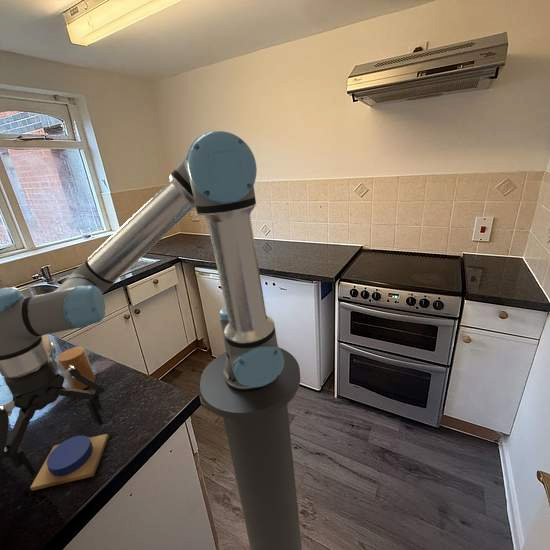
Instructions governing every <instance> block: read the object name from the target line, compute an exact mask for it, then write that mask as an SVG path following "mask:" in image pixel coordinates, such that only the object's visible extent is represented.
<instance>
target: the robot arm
mask: <svg viewBox="0 0 550 550" xmlns="http://www.w3.org/2000/svg"><path fill="white" fill-rule="evenodd" d="M257 170H258V169H257V161H256V158H255V155H254V153H253V152H252V149H251V148H250V146H249V145H248V143H246V142H245V141H244V140H243V139H242V138H241V137H240V136H238V135H237V134H234V133H231V132H228V131H223V130H217V131H216V130H212V131H211V132H205V133H203V134H200V136H198V137H197V138H196V139H195V140H194V141H193V142H192V144H191V145H190V146H189V149H188V151H187V153H186V155H185V157H184V158H183V160H182V161H181V162H180V163H179V165H177V167H176V168H175V169H173V171H172V172H170V174H169V182H167V183H166V184H165V185H164V186H163V187H162V188H161V189H160V190H158V192H157V193H156V194H155V195H153V197H152V198H150V199H149V200H148V201H147V202H146V203H145V204H143V206H142V207H141V208H140V209H139V210H137V212H136V213H134V214H133V215H132V217H130V218H129V219H128V220H127V221H126V222H125V223H124V224H123V225H122V226H120V227H119V228H118V230H117V231H115V232H114V233H113V234H112V235H111V236H110V237H109V238H108V239H106V241H105V242H104V243H102V244H101V245H100V246H99V248H97V249H96V250H95V251H94V252H93V253H92V254H91V255H90V256H89V257H88V258H87V259H86V260H85V261H83V262H82V263H81V264H80V265H79V266H78V267H77V268H75V269H73V271H72V272H71V273H70V274H69V276H68V277H67V278H66V279H65V280H64V281H63V282H62V283H61V284H60V285H59V286H58V287H57V288H56V289H55V290H54V291H52V292H47V293H42V294H38V295H31V296H30V295H29V296H24V294H23V293H22V291H21V290H20V289H19V288H17V287H2V288H0V375H1V377H4V378H3V380H4V382H5V384H6V386H7V387H8V390H9V391H10V393H11V395H12V400H11V401H9V402H7V403H5V404H3V405H2V404H0V462H2V461H3V459H5V458H9V460H10V461H11V463H12V465H13V466H14V467H15V468H17V469H18V468H20V467H21V466H22V465H23V467H24V468H25V470H26V471H27V473H28V474H29V476H31V477H34V476H36V475H37V472H36V470H35V469H34V467H33V466H32V464H31V462H30V461H29V459H28V457H27V455H26V454H25V452H24V450H23V449H22V448H21V447H20V445H21V443H22V440H23V438H24V436H25V434H26V431H27V430H28V427H29V425H30V422H31V420H32V419H33V418H34V415H35V413H36V411H38V410H39V411H41V410H43V409H45V408H46V407H47V406H48V405H49V404H53V403H55V402H56V401H58V398H59V397H64V398H65V397H70V398H74V399H75V398H76V399H82V400H85V403H86V406H87V408H88V410H89V412H90V415H91V417H92V419H93V421H94V422H95V423H96V424H97V425H98V426H100V427H101V426H102V425H103V424H104V421H103V419H102V416H101V415H100V412H99V411H101V410H102V404H101V402H100V395H101V394H102V393H104V392H105V391H106V389H105V387H103V386H102V385H101V384H98V383H97V382H95V381H94V382H93V381H92V380H90V379H88V378H86V377H85V376H83V375H81V374H80V372H79V371H78V369H77V368H75V367H73V366H72V365H69V366H68V367H67V370H66V371H64V372H63V373H62V372H61V373H59V371H58V368H57V369H56V367H55V365H54V363H53V361H52V359H51V358H50V357H49V356H50V354H49V352H48V350H47V348H46V346H45V344H44V342H43V340H42V337H41V336H43V335H46V334H47V335H50V334H55V333H61V332H65V331H69V330H75V329H82V328H85V327H88V326H91V325H94V324H97V323H100V322H101V321H103V320H104V318H105V316H106V302H105V298H104V294H105V292H107V290H109V289H110V288H111V287H112V286H113V285H114V284H115V283H116V282H117V281H118V280H119V279H120V278H121V277H122V276H123V275H124V274H125V273H126V272H128V271H129V269H131V268H132V267H133V266H134V265H135V264H136V263H137V262H138V261H139V260H140V259H141V258H142V257H143V256H145V254H147V253H148V252H149V251H150V250H151V249H152V248H154V246H155V245H156V244H157V243H159V242H160V240H162V239H163V238H164V237H165V236H166V235H167V234H168V233H169V232H171V231H172V230H173V228H175V227H176V226H177V225H178V224H179V223H181V221H182V220H183V219H184V218H185V217H187V216H188V215H189V214H190V213H191V212H192V211H193V210H194V209H196V210H195V211H196V213H197V215H198V216H199V217H201V218H202V219H204V220H205V221H206V223H207V227H208V233H209V237H210V240H211V245H212V250H213V255H214V259H215V264H216V268H217V272H218V278H219V283H220V287H221V288H220V289H221V291H222V297H223V301H224V302H223V303H224V306H223V307H222V308H220V310H219V319H218V320H219V322H220V328H221V331H222V338H223V343H224V347H225V348H224V349H225V352H226V354H227V357H226V363H225V368H224V372H223V373H224V378H225V382H226V384H227V385H228V386H229V387H230V388H232V389H234V390H236V391H241V392H249V391H255V390H258V389H260V388H263V387H264V386H266V385H267V384H269V383H271V382H272V381H274V380H275V379H276V378H277V376H278V375H280V373H281V372H282V370H283V367H284V357H283V353H282V351H281V350H280V349H279V348H280V347H279V345H278V339H277V333H276V326H275V321H274V320H273V318H272V317H270V316H268V315H267V313H266V306H265V298H264V293H263V286H262V279H261V274H260V267H259V261H258V255H257V249H256V248H257V247H256V243H255V242H256V241H255V236H254V229H253V224H252V217H251V213H252V211H253V210H254V208H255V207H256V206H257V200H256V199H257V198H256V193H255V192H256V191H255V183H256V178H257V172H258V171H257ZM65 378H69V379H73V378H75V379H76V380H78V381H79V382H81V383H83V384H85V385H87V386H88V388H90V389H92V391H90V390H84V389H82V390H80V389H75V388H69V387H68V386H65V385H64V383H65ZM15 408H18V409H19V411H18V415H17V417H16V421H15V423H14V425H13V427H12V430H11V432H10V434H9V437H8V430H9V423H10V418H9V417H10V416H12V413H13V410H14V409H15Z"/></svg>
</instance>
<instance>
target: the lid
mask: <svg viewBox="0 0 550 550" xmlns="http://www.w3.org/2000/svg"><path fill="white" fill-rule="evenodd" d="M89 438H90V437H88V436H86V435H75V436H72V437H70V438H67V439H65V440H64V441H62V442H61V443H59V444H60V445H59V444H57V445H58V446H57V447H56V448H55V449H54V450H53V451H52V452H51V451H50V452H51V454H50V455H49V454H48V455H49V457H48V456H47V457H48V459H47V458H46V459H47V466H48V469H49V471H50V472H51V474H52V475H54V476H64V475H68V474H70V473H72V472H74V471H76V470H77V469H79V468H80V467H81V466H83V465H84V464H85V463H86V462H87V460H88V459H89V458H90V456H91V454H92V452H93V446H92V443H91V441H90V439H89Z"/></svg>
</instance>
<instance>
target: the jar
mask: <svg viewBox="0 0 550 550" xmlns="http://www.w3.org/2000/svg"><path fill="white" fill-rule="evenodd" d="M56 359H57V363H58V368H59V370H60V371H61V373H63V372H64V371H66V370H67V367H68V366H69V365H72V366H73V367H75V368H77V369H78V371H79V372H80V374H81V375H83V376H85V377H86V378H88V379H90V380H92V381H93V382H95V381H96V379H97V378H96V373H95V372H94V370H93V366H92V364H91V362H90V358H89V356H88V354H87V352H86V350H85V348H83V347H82V346H75V347H72V348H69V349H66V350H64V351H63V352H61V353H60V354H58V356H57V358H56ZM64 381H65V383H66V385H67V387H69V388H75V389H80V390H84V389H86V388H89V386H87V385H85V384H83V383H81V382H79V381H78V380H76V379H75V378H73V379H69V378H65V379H64Z"/></svg>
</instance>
